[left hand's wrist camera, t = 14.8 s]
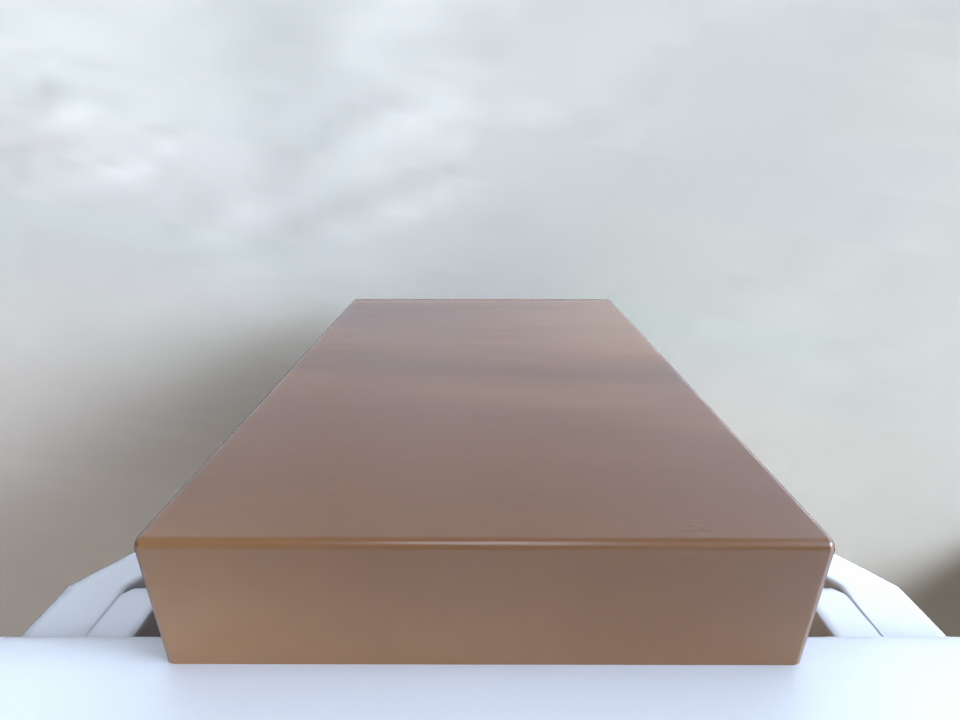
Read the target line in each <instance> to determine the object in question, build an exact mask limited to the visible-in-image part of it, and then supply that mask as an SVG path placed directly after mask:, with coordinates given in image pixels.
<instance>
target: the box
mask: <svg viewBox="0 0 960 720" xmlns="http://www.w3.org/2000/svg"><path fill="white" fill-rule="evenodd" d="M134 550H135V553H136V556H137V560H138V563H139V566H140V570H141V573H142V576H143V579H144V583H145V586H146V589H147V592H148V596H149V599H150V602H151V606H152V609H153V612H154V615H155V619H156V622H157V625H158V629H159V632H160V635H161V638H162V642H163V645H164V648H165V651H166V655H167V658H168V661H169V662H170V663H172V664H427V665H796V664H799V663H800V660H801V656H802V653H803V650H804V647H805V644H806V640H807V637H808V634H809V631H810V628H811V625H812V621H813V618H814V615H815V612H816V609H817V605H818V602H819V599H820V596H821V593H822V590H823V586H824V583H825V580H826V577H827V574H828V570H829V567H830V564H831V561H832V558H833V555H834V551H835V546H834V542H833V540H832V538H831V537H830V536H829V535H828V534H827V533H826V532H825V531H824V530H823V529H822V528H821V527H820V526H819V524H818V523H817V522H816V521H815V520H814V519H813V518H812V517H811V516H810V515H809V514H808V513H807V512H806V510H805V509H804V508H803V507H802V506H801V505H800V504H799V503H798V502H797V501H796V500H795V499H794V498H793V496H792V495H791V494H790V493H789V492H788V491H787V490H786V489H785V488H784V487H783V486H782V485H781V484H780V482H779V481H778V480H777V479H776V478H775V477H774V476H773V475H772V474H771V473H770V472H769V471H768V470H767V468H766V467H765V466H764V465H763V464H762V463H761V462H760V461H759V460H758V459H757V458H756V457H755V456H754V454H753V453H752V452H751V451H750V450H749V449H748V448H747V447H746V446H745V445H744V444H743V443H742V442H741V440H740V439H739V438H738V437H737V436H736V435H735V434H734V433H733V432H732V431H731V430H730V429H729V428H728V426H727V425H726V424H725V423H724V422H723V421H722V420H721V419H720V418H719V417H718V416H717V415H716V414H715V412H714V411H713V410H712V409H711V408H710V407H709V406H708V405H707V404H706V403H705V402H704V401H703V400H702V398H701V397H700V396H699V395H698V394H697V393H696V392H695V391H694V390H693V389H692V388H691V387H690V386H689V384H688V383H687V382H686V381H685V380H684V379H683V378H682V377H681V376H680V375H679V374H678V373H677V372H676V370H675V369H674V368H673V367H672V366H671V365H670V364H669V363H668V362H667V361H666V360H665V359H664V358H663V356H662V355H661V354H660V353H659V352H658V351H657V350H656V349H655V348H654V347H653V346H652V345H651V344H650V342H649V341H648V340H647V339H646V338H645V337H644V336H643V335H642V334H641V333H640V332H639V331H638V330H637V328H636V327H635V326H634V325H633V324H632V323H631V322H630V321H629V320H628V319H627V318H626V317H625V316H624V314H623V313H622V312H621V311H620V310H619V309H618V308H617V307H616V306H615V305H614V304H613V303H612V302H611V301H610V300H601V299H356V300H354V301H353V302H352V303H351V304H350V305H349V307H348V308H347V309H346V310H345V311H344V312H343V313H342V314H341V315H340V316H339V317H338V319H337V320H336V321H335V322H334V323H333V324H332V325H331V326H330V327H329V328H328V329H327V331H326V332H325V333H324V334H323V335H322V336H321V337H320V338H319V339H318V340H317V341H316V343H315V344H314V345H313V346H312V347H311V348H310V349H309V350H308V351H307V352H306V354H305V355H304V356H303V357H302V358H301V359H300V360H299V361H298V362H297V363H296V364H295V366H294V367H293V368H292V369H291V370H290V371H289V372H288V373H287V374H286V375H285V376H284V378H283V379H282V380H281V381H280V382H279V383H278V384H277V385H276V386H275V387H274V388H273V390H272V391H271V392H270V393H269V394H268V395H267V396H266V397H265V398H264V399H263V400H262V402H261V403H260V404H259V405H258V406H257V407H256V408H255V409H254V410H253V411H252V413H251V414H250V415H249V416H248V417H247V418H246V419H245V420H244V421H243V422H242V423H241V425H240V426H239V427H238V428H237V429H236V430H235V431H234V432H233V433H232V434H231V435H230V437H229V438H228V439H227V440H226V441H225V442H224V443H223V444H222V445H221V446H220V447H219V449H218V450H217V451H216V452H215V453H214V454H213V455H212V456H211V457H210V458H209V459H208V461H207V462H206V463H205V464H204V465H203V466H202V467H201V468H200V469H199V470H198V472H197V473H196V474H195V475H194V476H193V477H192V478H191V479H190V480H189V481H188V482H187V484H186V485H185V486H184V487H183V488H182V489H181V490H180V491H179V492H178V493H177V494H176V496H175V497H174V498H173V499H172V500H171V501H170V502H169V503H168V504H167V505H166V506H165V508H164V509H163V510H162V511H161V512H160V513H159V514H158V515H157V516H156V517H155V518H154V520H153V521H152V522H151V523H150V524H149V525H148V526H147V527H146V528H145V529H144V531H143V532H142V533H141V534H140V535H139V536H138V537H137V539H136V541H135V545H134Z"/></svg>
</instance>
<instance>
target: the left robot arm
mask: <svg viewBox="0 0 960 720" xmlns="http://www.w3.org/2000/svg"><path fill="white" fill-rule="evenodd" d="M0 720H960V637H947V636H946V635H945V634H944V633H943V632H942V631H941V630H940V629H939V628H938V627H937V626H936V625H935V624H934V623H933V622H932V621H931V620H930V619H929V618H928V617H927V616H926V615H925V614H924V613H923V612H922V611H921V610H920V609H919V608H918V606H917V605H916V604H915V603H914V602H913V601H912V600H911V599H910V598H909V597H908V596H907V595H906V594H905V593H904V592H903V591H902V590H901V589H900V588H899V587H898V586H896V585H894V584H892V583H890V582H888V581H886V580H884V579H882V578H880V577H878V576H876V575H875V574H873V573H871V572H869V571H867V570H865V569H863V568H861V567H859V566H857V565H855V564H853V563H851V562H850V561H848V560H846V559H844V558H842V557H840V556H838V555H836V554H834V555H833V558H832V561H831V564H830V567H829V570H828V574H827V577H826V580H825V583H824V586H823V590H822V593H821V596H820V599H819V602H818V605H817V609H816V612H815V615H814V618H813V621H812V625H811V628H810V631H809V634H808V637H807V640H806V644H805V647H804V650H803V653H802V656H801V660H800V663H799V664H796V665H427V664H172V663H170V662H169V661H168V658H167V655H166V651H165V648H164V645H163V642H162V638H161V635H160V632H159V629H158V625H157V622H156V619H155V615H154V612H153V609H152V606H151V602H150V599H149V596H148V592H147V589H146V586H145V583H144V579H143V576H142V573H141V570H140V566H139V563H138V560H137V556H136V553H135V552H134V553H132V554H130V555H128V556H126V557H124V558H122V559H120V560H118V561H116V562H115V563H113V564H111V565H109V566H107V567H105V568H103V569H101V570H99V571H97V572H96V573H94V574H92V575H90V576H88V577H86V578H84V579H82V580H80V581H78V582H76V583H75V584H73V585H71V586H69V587H68V588H67V589H66V590H65V591H64V592H63V593H62V594H61V595H60V596H59V597H58V599H57V600H56V601H55V602H54V603H53V604H52V605H51V606H50V607H49V608H48V609H47V610H46V611H45V612H44V613H43V614H42V615H41V616H40V617H39V618H38V619H37V620H36V621H35V622H34V623H33V624H32V625H31V626H30V627H29V628H28V630H27V631H26V632H25V633H24V634H23V635H22V636H21V637H0Z"/></svg>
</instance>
